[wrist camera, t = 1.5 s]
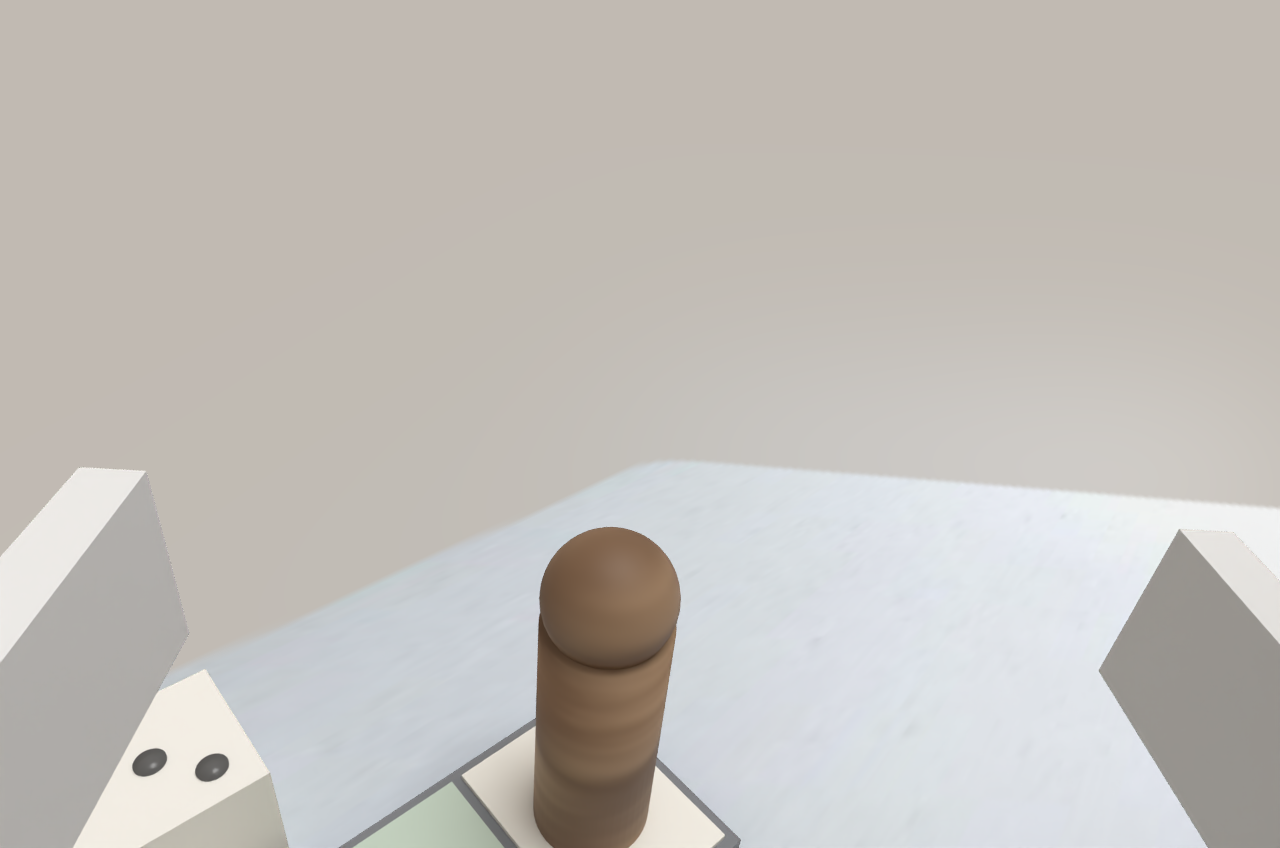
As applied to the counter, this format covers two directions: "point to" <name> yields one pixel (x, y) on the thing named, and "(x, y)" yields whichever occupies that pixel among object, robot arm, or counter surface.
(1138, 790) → the counter surface
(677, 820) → the board
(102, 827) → the die
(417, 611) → the counter surface
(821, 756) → the counter surface
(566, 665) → the pawn
